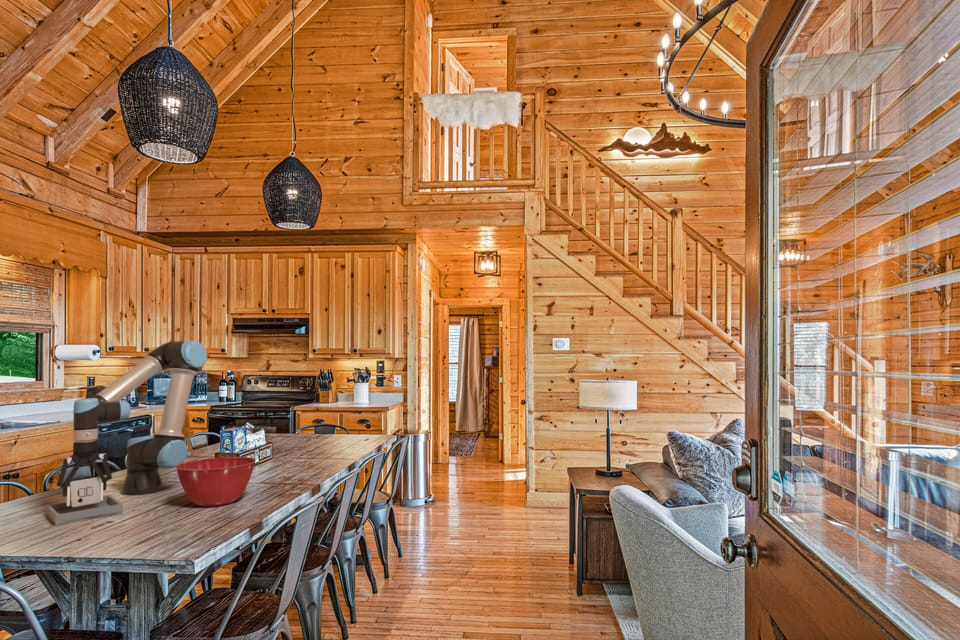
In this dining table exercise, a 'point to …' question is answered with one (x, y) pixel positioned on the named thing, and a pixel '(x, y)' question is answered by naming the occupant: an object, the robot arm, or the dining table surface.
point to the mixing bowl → (215, 479)
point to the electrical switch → (85, 492)
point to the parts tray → (84, 510)
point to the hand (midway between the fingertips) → (84, 502)
